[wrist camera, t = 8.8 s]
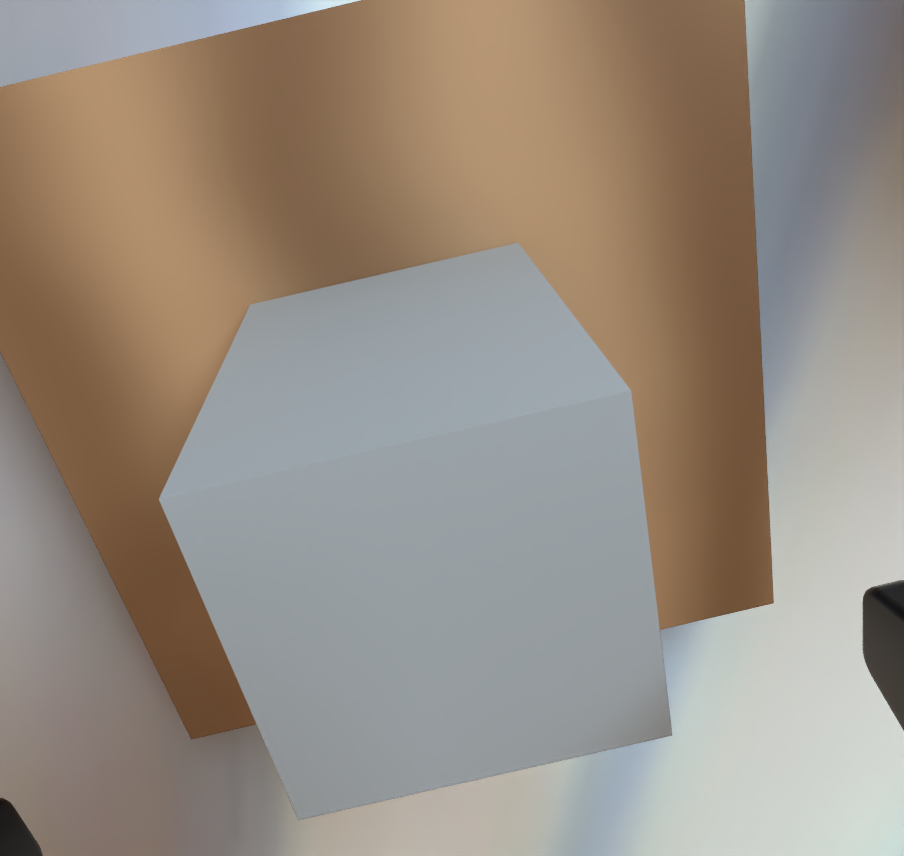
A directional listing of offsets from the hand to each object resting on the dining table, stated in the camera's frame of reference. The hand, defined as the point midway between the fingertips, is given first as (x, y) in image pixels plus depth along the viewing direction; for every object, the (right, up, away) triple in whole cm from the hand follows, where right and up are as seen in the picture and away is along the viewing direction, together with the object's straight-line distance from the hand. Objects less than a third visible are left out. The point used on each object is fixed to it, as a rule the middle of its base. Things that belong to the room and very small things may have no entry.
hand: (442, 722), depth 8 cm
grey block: (-1, +4, +7) cm, 8 cm away
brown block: (-1, +5, +11) cm, 12 cm away
